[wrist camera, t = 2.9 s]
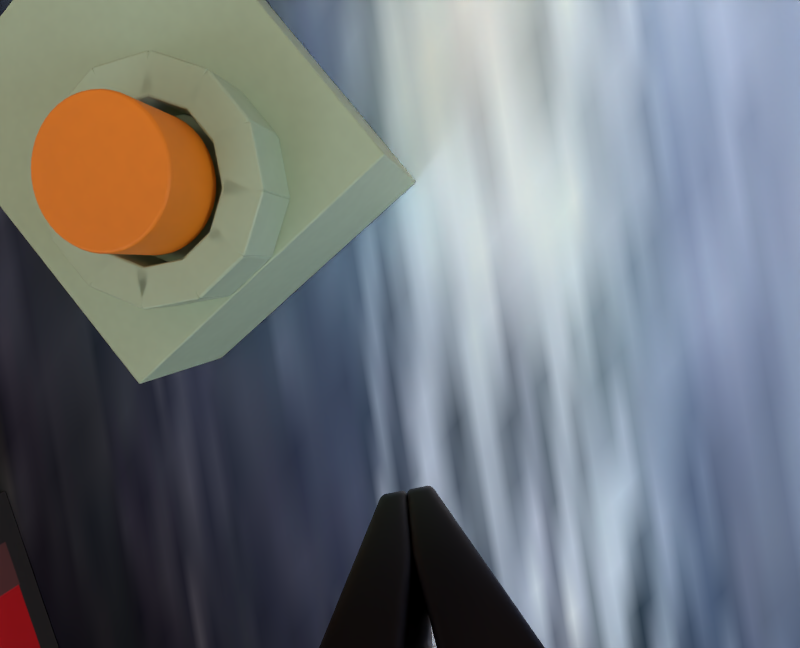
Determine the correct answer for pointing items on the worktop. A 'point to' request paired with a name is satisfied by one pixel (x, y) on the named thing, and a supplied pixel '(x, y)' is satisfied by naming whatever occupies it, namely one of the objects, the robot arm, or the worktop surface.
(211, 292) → the button base
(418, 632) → the robot arm
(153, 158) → the button
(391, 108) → the worktop surface
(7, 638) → the cleaning product box
